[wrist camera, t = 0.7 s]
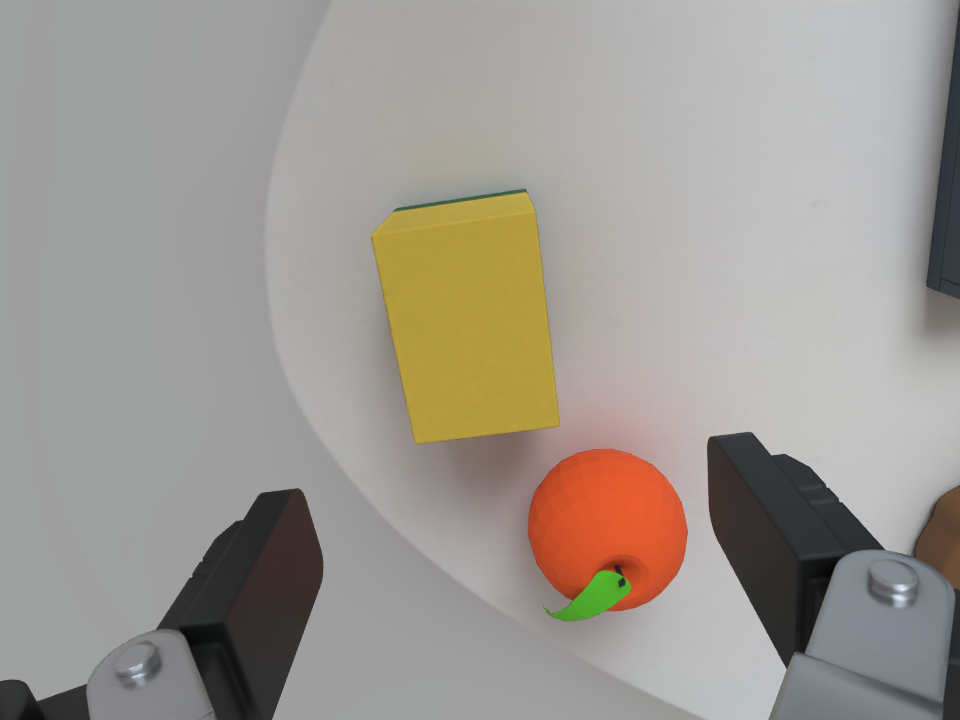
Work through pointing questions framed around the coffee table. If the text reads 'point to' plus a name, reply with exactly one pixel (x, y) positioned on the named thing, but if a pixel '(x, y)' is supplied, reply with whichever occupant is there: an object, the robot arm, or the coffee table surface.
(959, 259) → the tray
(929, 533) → the plant
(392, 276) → the sponge
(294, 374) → the coffee table surface
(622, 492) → the clementine
